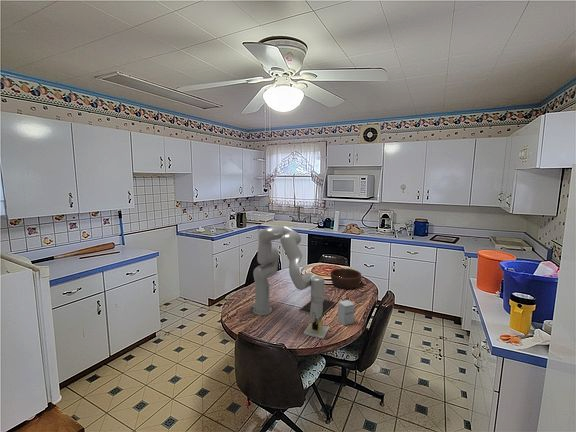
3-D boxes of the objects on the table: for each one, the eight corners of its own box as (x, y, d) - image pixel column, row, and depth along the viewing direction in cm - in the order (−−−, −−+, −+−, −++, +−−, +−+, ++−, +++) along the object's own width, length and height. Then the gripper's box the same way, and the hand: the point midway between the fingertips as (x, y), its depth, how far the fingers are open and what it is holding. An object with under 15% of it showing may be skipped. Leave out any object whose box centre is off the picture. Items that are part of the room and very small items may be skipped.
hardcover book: (335, 305, 203) (335, 302, 202) (320, 318, 183) (320, 315, 183) (314, 299, 211) (314, 296, 211) (299, 312, 192) (299, 309, 192)
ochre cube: (311, 329, 166) (311, 321, 165) (314, 325, 170) (314, 317, 170) (319, 331, 164) (319, 323, 163) (322, 327, 168) (322, 319, 168)
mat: (303, 334, 164) (303, 332, 164) (310, 324, 175) (310, 322, 175) (323, 339, 160) (323, 337, 159) (329, 328, 170) (329, 327, 170)
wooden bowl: (327, 280, 250) (327, 268, 248) (354, 279, 252) (355, 267, 251) (334, 291, 225) (335, 279, 223) (365, 290, 228) (366, 278, 226)
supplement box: (344, 325, 174) (344, 306, 172) (337, 320, 180) (337, 301, 179) (354, 323, 177) (354, 304, 175) (347, 318, 183) (347, 299, 182)
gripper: (315, 291, 174) (315, 319, 176) (306, 302, 158) (305, 333, 161) (327, 293, 171) (326, 322, 173) (319, 305, 155) (318, 336, 158)
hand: (316, 327), depth 167 cm, fingers closed on ochre cube, 5 cm apart
